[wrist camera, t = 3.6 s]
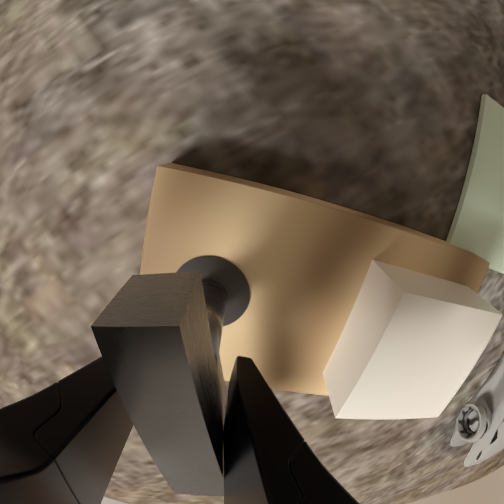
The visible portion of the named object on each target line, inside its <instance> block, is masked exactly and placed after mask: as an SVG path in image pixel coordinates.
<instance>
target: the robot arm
mask: <svg viewBox="0 0 504 504" xmlns="http://www.w3.org/2000/svg"><path fill="white" fill-rule="evenodd" d="M133 425H134V424H133V422H132V420H131V419H130V417H129V415H128V413H127V411H126V409H125V407H124V404H123V402H122V400H121V398H120V396H119V394H118V392H117V390H116V387H115V385H114V383H113V381H112V378H111V376H110V374H109V371H108V369H107V367H106V364H105V362H104V359H103V357H100V358H98V359H97V360H95V361H93V362H91V363H90V364H88V365H86V366H84V367H83V368H81V369H79V370H77V371H76V372H74V373H72V374H70V375H69V376H67V377H65V378H63V379H62V380H60V381H58V383H54V384H53V385H51V386H49V387H47V388H45V389H43V390H42V391H40V392H38V393H36V394H34V395H32V396H30V397H27V398H25V399H23V400H21V401H18V402H16V403H14V404H11V405H8V406H6V407H3V408H1V409H0V504H101V501H102V499H103V496H104V494H105V491H106V489H107V486H108V484H109V481H110V479H111V477H112V474H113V472H114V469H115V467H116V464H117V462H118V460H119V457H120V455H121V453H122V450H123V448H124V445H125V443H126V441H127V438H128V436H129V434H130V432H131V429H132V427H133ZM223 457H224V504H359V503H358V502H357V501H356V500H355V499H354V498H353V497H352V496H351V495H350V494H349V493H348V492H347V491H346V490H345V489H344V488H343V486H342V485H341V484H340V483H339V482H338V481H337V480H336V479H335V478H334V477H333V476H332V475H331V473H330V472H329V471H328V470H327V469H326V468H325V467H324V465H323V464H322V463H321V462H320V460H319V459H318V458H317V456H316V455H315V454H314V452H313V451H312V450H311V448H310V447H309V445H308V444H307V442H304V438H303V437H302V435H301V434H300V432H299V431H298V429H297V428H296V426H295V425H294V423H293V422H292V420H291V419H290V417H289V416H288V414H287V413H286V411H285V410H284V408H283V407H282V405H281V404H280V402H279V401H278V399H277V398H276V396H275V395H274V393H273V392H272V390H271V388H270V387H269V385H268V384H267V382H266V381H265V379H264V377H263V376H262V374H261V373H260V371H259V370H258V368H257V366H256V365H255V363H254V362H253V360H252V359H251V358H249V357H244V356H237V357H236V360H235V363H234V367H233V370H232V374H231V377H230V382H229V389H228V396H227V403H226V410H225V417H224V426H223Z"/></svg>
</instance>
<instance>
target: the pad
mask: <svg viewBox="0 0 504 504" xmlns="http://www.w3.org/2000/svg"><path fill="white" fill-rule="evenodd" d="M446 242H448V243H450V244H452V245H455V246H457V247H460V248H462V249H465V250H468V251H470V252H473V253H474V254H476V255H478V256H479V257H481V258H483V259H484V260H486V261H488V262H489V263H490V265H489V268H490V269H492V270H495V271H497V272H500V273H503V274H504V107H502V106H501V105H500V104H499V103H497V102H496V101H495V100H493V99H492V98H491V97H489V96H488V95H487V94H483V95H482V97H481V105H480V111H479V118H478V123H477V129H476V134H475V139H474V144H473V149H472V154H471V158H470V162H469V166H468V170H467V174H466V178H465V182H464V186H463V189H462V193H461V196H460V200H459V203H458V206H457V209H456V213H455V216H454V219H453V222H452V225H451V228H450V231H449V234H448V236H447V239H446Z"/></svg>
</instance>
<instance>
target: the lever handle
mask: <svg viewBox="0 0 504 504" xmlns="http://www.w3.org/2000/svg"><path fill="white" fill-rule="evenodd" d="M226 302H227V292H226V290H225V288H224V287H223V285H222V284H220V283H219V282H217V281H215V280H202V278H201V272H200V271H190V272H175V273H160V274H144V275H132V277H131V278H130V279H129V280H128V281H127V282H126V284H125V285H124V286H123V287H122V288H121V290H120V291H119V292H118V293H117V295H116V296H115V297H114V298H113V299H112V301H111V302H110V303H109V304H108V306H107V307H106V308H105V309H104V311H103V312H102V313H101V314H100V316H99V317H98V318H97V319H96V321H95V322H94V323H93V324H92V326H91V328H92V330H93V333H94V336H95V339H96V341H97V344H98V347H99V349H100V352H101V354H102V357H103V359H104V362H105V364H106V367H107V369H108V371H109V374H110V376H111V378H112V381H113V383H114V385H115V387H116V390H117V392H118V394H119V396H120V398H121V400H122V402H123V404H124V407H125V409H126V411H127V413H128V415H129V417H130V419H131V420H132V422H133V424H134V426H135V428H136V430H137V432H138V434H139V436H140V437H141V439H142V441H143V443H144V445H145V446H146V448H147V450H148V452H149V453H150V455H151V457H152V458H153V460H154V462H155V463H156V465H157V467H158V468H159V470H160V472H161V473H162V475H163V476H164V478H165V479H166V481H167V483H168V484H169V486H170V487H171V489H172V490H173V492H174V493H178V494H190V495H206V496H224V457H223V426H224V417H225V410H226V403H227V392H226V387H225V382H224V376H223V371H222V365H221V360H220V354H219V349H220V342H221V336H222V329H223V322H224V315H225V308H226Z"/></svg>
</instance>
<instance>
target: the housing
mask: <svg viewBox="0 0 504 504" xmlns="http://www.w3.org/2000/svg"><path fill="white" fill-rule="evenodd" d="M372 260H376V261H379V262H383V263H387V264H390V265H394V266H398V267H401V268H405V269H409V270H412V271H416V272H419V273H423V274H426V275H430V276H434V277H437V278H441V279H444V280H448V281H451V282H454V283H458V284H461V285H465V286H468V287H469V288H471V289H472V290H473V291H474V292H476V293H478V291H479V289H480V287H481V284H482V282H483V280H484V277H485V275H486V273H487V270H488V268H489V265H490V263H489V262H488V261H486V260H484V259H483V258H481V257H479V256H478V255H476V254H474V253H473V252H470V251H468V250H465V249H462V248H460V247H457V246H455V245H452V244H450V243H448V242H446V241H444V240H441V239H438V238H436V237H433V236H430V235H427V234H425V233H422V232H419V231H416V230H413V229H410V228H408V227H405V226H402V225H399V224H396V223H393V222H390V221H387V220H384V219H381V218H378V217H375V216H372V215H369V214H366V213H362V212H359V211H356V210H353V209H350V208H346V207H343V206H340V205H336V204H333V203H330V202H326V201H323V200H320V199H316V198H313V197H309V196H306V195H302V194H298V193H295V192H291V191H287V190H284V189H280V188H276V187H272V186H269V185H265V184H261V183H257V182H253V181H249V180H245V179H241V178H237V177H232V176H228V175H224V174H220V173H215V172H211V171H207V170H202V169H198V168H193V167H188V166H184V165H179V164H174V163H167V164H163V165H158V166H157V169H156V174H155V179H154V184H153V189H152V195H151V201H150V206H149V212H148V219H147V225H146V232H145V239H144V246H143V254H142V262H141V270H140V275H144V274H160V273H175V272H190V271H200V272H201V278H202V280H215V281H217V282H219V283H220V284H222V285H223V287H224V288H225V290H226V292H227V302H226V308H225V315H224V322H223V329H222V336H221V342H220V349H219V354H220V360H221V365H222V371H223V376H224V380H226V381H230V377H231V374H232V370H233V367H234V363H235V360H236V357H237V356H244V357H249V358H251V359H252V360H253V362H254V363H255V365H256V366H257V368H258V370H259V371H260V373H261V374H262V376H263V377H264V379H265V381H266V382H267V384H268V385H269V387H270V388H271V389H278V390H285V391H292V392H300V393H308V394H317V395H327V396H329V394H328V390H327V387H326V383H325V379H324V376H323V371H324V369H325V367H326V365H327V363H328V361H329V359H330V357H331V355H332V353H333V351H334V349H335V347H336V344H337V342H338V340H339V338H340V336H341V334H342V331H343V329H344V327H345V325H346V323H347V320H348V318H349V316H350V313H351V311H352V309H353V307H354V304H355V302H356V299H357V297H358V295H359V292H360V290H361V287H362V285H363V282H364V280H365V277H366V275H367V272H368V270H369V267H370V264H371V262H372Z"/></svg>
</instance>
